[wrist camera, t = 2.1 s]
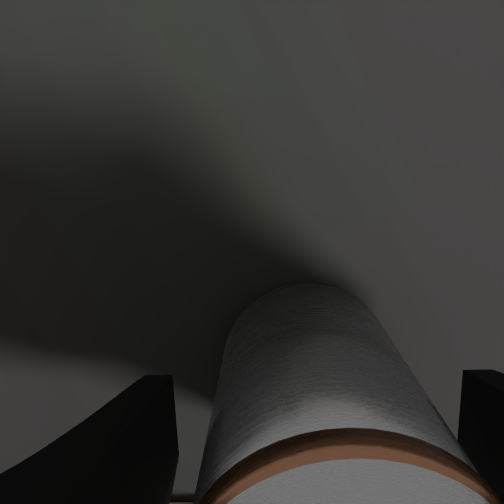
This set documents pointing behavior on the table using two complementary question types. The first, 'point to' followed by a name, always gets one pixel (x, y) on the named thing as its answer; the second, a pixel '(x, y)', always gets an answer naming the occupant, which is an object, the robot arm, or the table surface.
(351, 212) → the table surface
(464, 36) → the table surface
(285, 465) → the grey cylinder
